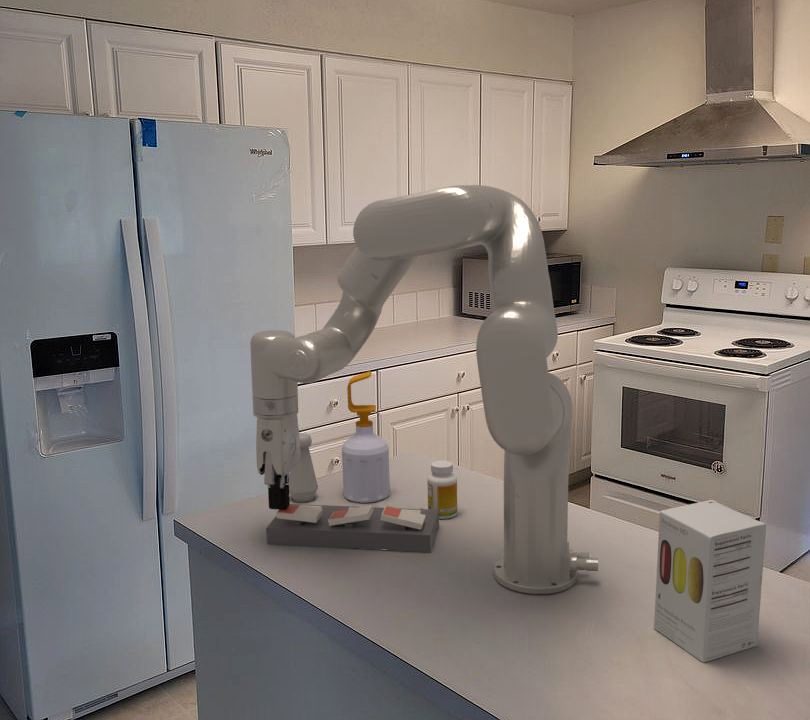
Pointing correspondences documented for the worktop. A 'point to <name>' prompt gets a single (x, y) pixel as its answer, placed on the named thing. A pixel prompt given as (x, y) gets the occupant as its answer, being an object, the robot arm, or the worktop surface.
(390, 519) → the rocker near
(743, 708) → the worktop surface
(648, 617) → the worktop surface
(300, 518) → the rocker far
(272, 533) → the rocker switch panel
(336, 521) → the rocker middle
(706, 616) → the supplement box
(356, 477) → the soap bottle
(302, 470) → the salt shaker
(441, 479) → the supplement bottle
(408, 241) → the robot arm
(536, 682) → the worktop surface
